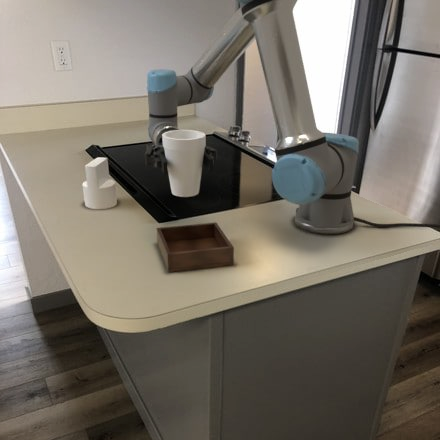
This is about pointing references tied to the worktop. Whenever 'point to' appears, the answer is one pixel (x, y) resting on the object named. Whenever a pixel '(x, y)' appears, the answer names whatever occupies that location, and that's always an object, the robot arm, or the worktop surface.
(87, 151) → the worktop surface
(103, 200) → the base with upright slab
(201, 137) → the foam cup
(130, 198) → the worktop surface
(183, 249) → the caddy
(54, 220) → the worktop surface
